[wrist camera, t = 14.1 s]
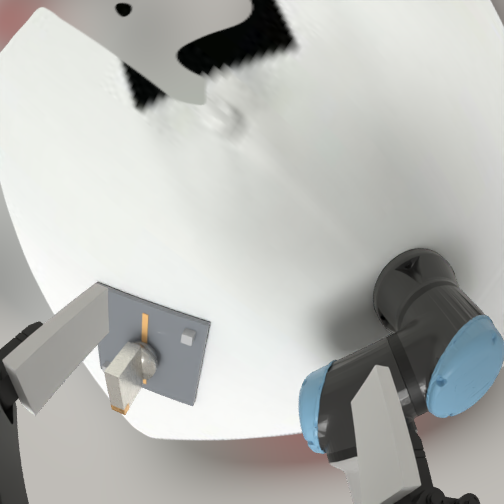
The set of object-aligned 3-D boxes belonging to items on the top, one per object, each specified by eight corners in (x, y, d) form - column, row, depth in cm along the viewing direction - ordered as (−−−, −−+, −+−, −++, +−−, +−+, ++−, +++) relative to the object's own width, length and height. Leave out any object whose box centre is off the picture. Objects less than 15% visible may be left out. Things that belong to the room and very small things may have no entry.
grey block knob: (121, 331, 50) (91, 365, 40) (158, 344, 50) (132, 383, 40) (124, 370, 54) (100, 403, 44) (158, 382, 54) (137, 420, 43)
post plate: (210, 322, 50) (205, 332, 47) (194, 402, 59) (190, 412, 56) (97, 282, 51) (88, 288, 48) (103, 365, 60) (96, 373, 57)
